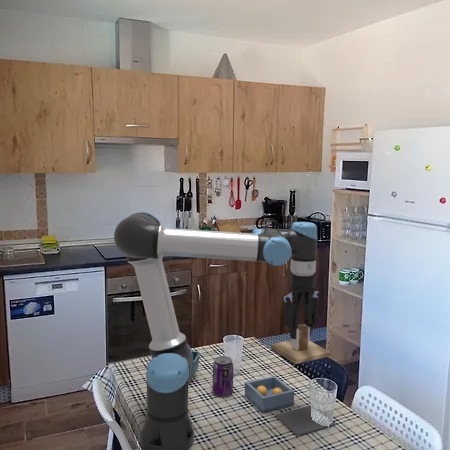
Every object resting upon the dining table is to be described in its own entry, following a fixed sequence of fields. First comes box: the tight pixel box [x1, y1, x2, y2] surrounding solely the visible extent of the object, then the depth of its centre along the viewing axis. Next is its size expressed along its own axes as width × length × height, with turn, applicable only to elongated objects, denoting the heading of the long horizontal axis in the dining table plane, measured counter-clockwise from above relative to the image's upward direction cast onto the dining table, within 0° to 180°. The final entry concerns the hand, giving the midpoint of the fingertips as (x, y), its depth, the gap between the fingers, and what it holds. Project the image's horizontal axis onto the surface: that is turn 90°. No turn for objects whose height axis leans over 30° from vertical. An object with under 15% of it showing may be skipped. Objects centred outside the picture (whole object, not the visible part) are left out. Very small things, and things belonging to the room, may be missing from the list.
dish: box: [244, 375, 295, 414], centre depth 151 cm, size 12×12×5 cm
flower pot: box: [189, 350, 201, 383], centre depth 165 cm, size 9×9×9 cm
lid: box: [270, 323, 331, 365], centre depth 139 cm, size 13×13×8 cm
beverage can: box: [211, 355, 234, 397], centre depth 155 cm, size 7×7×12 cm
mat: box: [275, 404, 336, 437], centre depth 140 cm, size 14×12×1 cm
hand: (300, 347), depth 139 cm, fingers closed on lid, 3 cm apart
